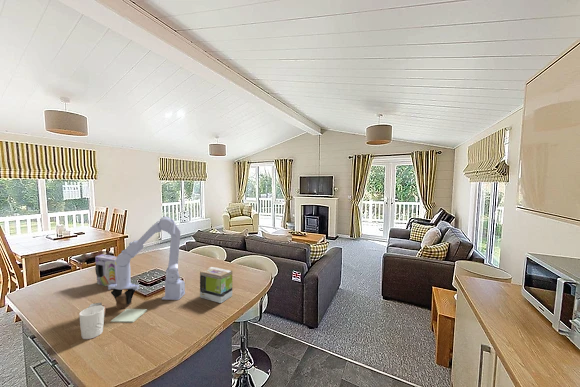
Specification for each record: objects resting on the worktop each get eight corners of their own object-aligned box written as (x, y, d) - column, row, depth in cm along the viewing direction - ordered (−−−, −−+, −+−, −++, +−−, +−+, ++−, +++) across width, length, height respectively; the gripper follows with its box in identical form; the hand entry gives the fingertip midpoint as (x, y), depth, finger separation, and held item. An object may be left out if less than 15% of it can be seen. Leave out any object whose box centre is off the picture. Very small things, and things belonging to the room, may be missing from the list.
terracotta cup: (107, 314, 110) (107, 305, 110) (100, 319, 106) (100, 310, 106) (99, 314, 111) (99, 305, 110) (91, 319, 107) (91, 309, 106)
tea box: (232, 295, 131) (233, 270, 131) (220, 304, 122) (220, 276, 121) (212, 290, 138) (212, 265, 137) (199, 297, 128) (199, 271, 128)
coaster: (147, 310, 115) (147, 309, 115) (133, 322, 105) (133, 321, 105) (126, 309, 115) (126, 308, 115) (111, 321, 105) (111, 320, 105)
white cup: (89, 328, 100) (89, 305, 100) (109, 327, 101) (108, 305, 100) (74, 340, 92) (73, 316, 92) (95, 340, 93) (95, 315, 92)
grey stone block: (101, 310, 114) (101, 302, 114) (98, 314, 110) (97, 306, 110) (91, 311, 113) (91, 303, 113) (87, 316, 109) (87, 307, 109)
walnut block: (131, 303, 121) (131, 293, 120) (125, 308, 116) (125, 297, 116) (122, 303, 121) (122, 293, 120) (116, 308, 116) (116, 297, 116)
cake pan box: (94, 283, 143) (94, 255, 142) (103, 280, 148) (103, 253, 147) (114, 289, 136) (114, 259, 135) (123, 286, 141) (123, 257, 140)
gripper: (143, 274, 122) (143, 299, 122) (115, 273, 122) (115, 298, 122) (133, 279, 115) (134, 306, 115) (104, 278, 115) (105, 305, 115)
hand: (124, 303), depth 118 cm, fingers closed on walnut block, 4 cm apart
